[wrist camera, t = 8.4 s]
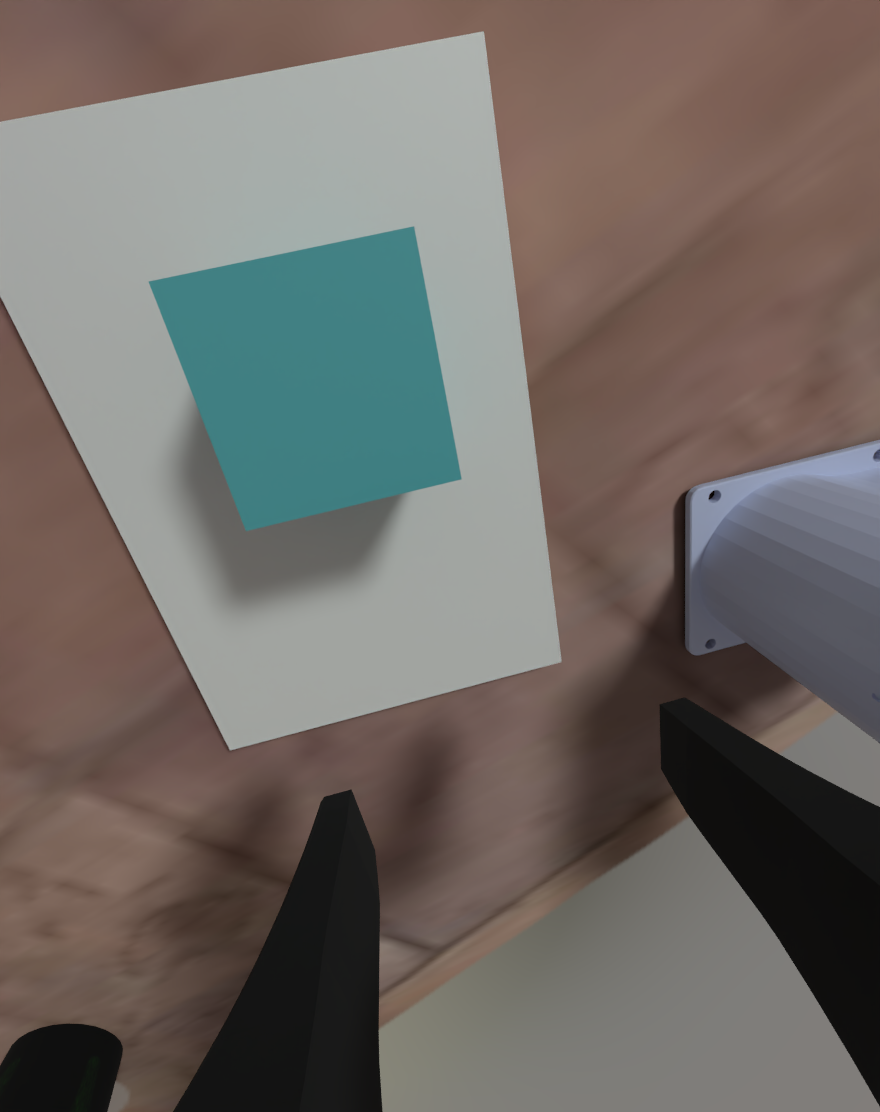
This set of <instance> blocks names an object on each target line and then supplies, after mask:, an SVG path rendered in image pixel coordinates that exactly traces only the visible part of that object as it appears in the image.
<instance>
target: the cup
mask: <svg viewBox="0 0 880 1112" xmlns="http://www.w3.org/2000/svg"><path fill="white" fill-rule="evenodd" d="M122 1050H123V1048H122V1045H121V1042H120V1041H119V1040H118V1039H117V1038H116V1037H115V1036H114V1035H113V1034H111V1033H109V1032H108V1031H106V1030H103V1029H100V1028H97V1027H93V1026H88V1025H82V1024H62V1025H53V1026H48V1027H44V1028H40V1029H37V1030H34V1031H32V1032H29V1033H27V1034H26V1035H24V1036H22V1037H21V1038H19V1039H18V1040H17V1041H16V1042H15V1043H14V1044H13V1045H12V1046H11V1048H10V1050H9V1052H8V1053H7V1055H6V1057H5V1058H4V1060H3V1062H2V1064H1V1065H0V1112H107V1111H108V1107H109V1103H110V1099H111V1095H112V1092H113V1088H114V1084H115V1080H116V1076H117V1072H118V1069H119V1065H120V1061H121V1057H122Z"/></svg>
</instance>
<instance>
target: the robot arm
mask: <svg viewBox="0 0 880 1112" xmlns="http://www.w3.org/2000/svg"><path fill="white" fill-rule="evenodd" d="M875 452H876V453H875ZM874 453H875V455H874ZM873 456H874V457H873ZM712 491H714V492H715V493H714V496H713V497H712V498H711V499H710V500H709V499H708V498H709V495H710V493H711V492H712ZM708 640H710V641H709V642H708V643H706V642H707V641H708ZM743 643H747V644H749V645H750V646H751V647H753V648H754V649H755V650H757V651H758V652H759V653H761V654H762V655H763V656H765V657H766V658H767V659H769V660H770V661H771V662H773V663H774V664H775V665H777V666H778V667H779V668H781V669H782V670H783V671H785V672H786V673H787V674H788V675H790V676H791V677H792V678H794V679H795V680H796V681H798V682H799V683H800V684H802V685H803V686H804V687H806V688H807V689H808V690H810V691H811V692H812V693H814V694H815V695H816V696H818V697H819V698H820V699H822V700H823V701H824V702H826V703H827V704H828V705H830V706H831V707H832V708H834V709H835V710H836V711H838V712H839V713H840V714H841V715H843V716H844V717H846V718H847V719H848V720H850V721H851V722H852V723H853V724H855V725H856V726H858V727H859V728H860V729H861V730H863V731H864V732H866V733H867V734H868V735H869V736H871V737H872V738H873V739H875V740H876V741H878V742H879V743H880V440H877V441H873V442H869V443H865V444H861V445H857V446H853V447H849V448H845V449H841V450H837V451H833V452H829V453H825V454H821V455H817V456H813V457H809V458H805V459H801V460H796V461H792V462H788V463H784V464H780V465H776V466H772V467H768V468H764V469H760V470H756V471H752V472H748V473H744V474H740V475H736V476H732V477H728V478H724V479H720V480H716V481H712V482H708V483H704V484H700V485H697V486H695V487H693V488H692V489H690V490H689V492H688V493H687V495H686V500H685V647H686V649H687V650H688V651H689V652H690V653H691V654H692V655H695V656H696V655H702V654H706V653H709V652H713V651H717V650H720V649H724V648H728V647H731V646H735V645H739V644H743ZM660 737H661V769H662V771H663V773H664V775H665V777H666V778H667V780H668V782H669V784H670V785H671V787H672V789H673V791H674V792H675V794H676V796H677V797H678V799H679V801H680V802H681V804H682V806H683V807H684V809H685V811H686V812H687V814H688V815H689V817H690V818H691V819H692V820H693V822H694V824H695V825H696V826H697V828H698V829H699V830H700V832H701V833H702V835H703V836H704V837H705V839H706V840H707V841H708V843H709V844H710V845H711V847H712V848H713V850H714V851H715V852H716V854H717V855H718V856H719V857H720V859H721V860H722V862H723V863H724V864H725V866H726V867H727V868H728V870H729V871H730V872H731V874H732V875H733V876H734V878H735V879H736V881H737V882H738V883H739V884H740V886H741V887H742V889H743V890H744V891H745V893H746V894H747V895H748V897H749V898H750V899H751V901H752V902H753V903H754V905H755V906H756V907H757V909H758V910H759V911H760V913H761V914H762V915H763V917H764V919H765V920H766V921H767V923H768V924H769V926H770V927H771V929H772V930H773V932H774V933H775V934H776V936H777V937H778V939H779V940H780V942H781V944H782V945H783V947H784V948H785V950H786V952H787V953H788V955H789V956H790V958H791V960H792V961H793V963H794V964H795V966H796V967H797V969H798V971H799V972H800V974H801V975H802V977H803V978H804V980H805V982H806V983H807V985H808V987H809V988H810V989H811V991H812V993H813V995H814V996H815V998H816V1000H817V1001H818V1003H819V1005H820V1006H821V1008H822V1009H823V1011H824V1013H825V1014H826V1016H827V1018H828V1019H829V1021H830V1023H831V1024H832V1026H833V1028H834V1029H835V1031H836V1033H837V1034H838V1036H839V1038H840V1039H841V1041H842V1043H843V1044H844V1046H845V1048H846V1049H847V1051H848V1053H849V1054H850V1056H851V1058H852V1059H853V1061H854V1063H855V1064H856V1066H857V1068H858V1070H859V1071H860V1073H861V1075H862V1076H863V1078H864V1080H865V1082H866V1083H867V1085H868V1087H869V1089H870V1090H871V1092H872V1094H873V1096H874V1097H875V1099H876V1101H877V1103H878V1104H879V1106H880V807H879V806H876V805H874V804H872V803H870V802H868V801H866V800H864V799H862V798H859V797H858V796H856V795H854V794H852V793H850V792H848V791H846V790H844V789H842V788H840V787H838V786H836V785H834V784H832V783H831V782H828V781H827V780H825V779H823V778H821V777H819V776H817V775H815V774H813V773H812V772H810V771H808V770H806V769H804V768H803V767H801V766H799V765H797V764H795V763H793V762H792V761H790V760H788V759H786V758H785V757H783V756H781V755H779V754H778V753H776V752H774V751H773V750H771V749H769V748H767V747H766V746H764V745H762V744H760V743H759V742H757V741H755V740H754V739H752V738H750V737H749V736H747V735H745V734H744V733H742V732H740V731H739V730H737V729H735V728H734V727H732V726H731V725H729V724H727V723H726V722H724V721H722V720H721V719H719V718H717V717H716V716H714V715H713V714H711V713H709V712H708V711H706V710H704V709H703V708H701V707H700V706H698V705H696V704H695V703H693V702H691V701H690V700H688V699H686V698H681V699H678V700H674V701H671V702H667V703H663V704H660ZM379 932H380V900H379V888H378V876H377V866H376V855H375V849H374V846H373V844H372V841H371V839H370V836H369V834H368V831H367V828H366V826H365V823H364V821H363V818H362V815H361V813H360V810H359V808H358V805H357V803H356V800H355V797H354V795H353V792H352V790H348V791H344V792H341V793H337V794H333V795H330V796H326V797H324V798H323V800H322V801H321V803H320V806H319V809H318V812H317V815H316V818H315V821H314V824H313V827H312V830H311V833H310V836H309V838H308V841H307V844H306V846H305V849H304V852H303V854H302V857H301V860H300V862H299V865H298V867H297V870H296V872H295V875H294V877H293V880H292V882H291V885H290V887H289V889H288V892H287V894H286V897H285V899H284V902H283V904H282V906H281V909H280V911H279V913H278V916H277V918H276V920H275V922H274V924H273V926H272V929H271V931H270V933H269V935H268V937H267V940H266V942H265V944H264V946H263V948H262V950H261V953H260V955H259V957H258V959H257V961H256V963H255V965H254V967H253V969H252V971H251V973H250V975H249V977H248V979H247V981H246V983H245V985H244V987H243V989H242V991H241V993H240V995H239V997H238V999H237V1001H236V1003H235V1004H234V1006H233V1008H232V1010H231V1012H230V1014H229V1016H228V1018H227V1020H226V1021H225V1023H224V1025H223V1027H222V1029H221V1031H220V1032H219V1034H218V1036H217V1038H216V1039H215V1041H214V1043H213V1045H212V1046H211V1048H210V1050H209V1052H208V1053H207V1055H206V1057H205V1059H204V1060H203V1062H202V1064H201V1066H200V1067H199V1069H198V1071H197V1073H196V1074H195V1076H194V1078H193V1079H192V1081H191V1083H190V1085H189V1086H188V1088H187V1090H186V1091H185V1093H184V1095H183V1096H182V1098H181V1100H180V1101H179V1103H178V1104H177V1106H176V1108H175V1109H174V1111H173V1112H382V1099H381V1083H380V1068H379V1036H378V1035H379V1032H378V1030H379Z"/></svg>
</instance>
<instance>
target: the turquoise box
mask: <svg viewBox="0 0 880 1112" xmlns="http://www.w3.org/2000/svg"><path fill="white" fill-rule="evenodd" d="M149 284H150V287H151V289H152V292H153V295H154V297H155V300H156V302H157V305H158V307H159V310H160V312H161V315H162V318H163V320H164V323H165V325H166V328H167V330H168V333H169V335H170V338H171V341H172V343H173V346H174V348H175V351H176V353H177V356H178V358H179V361H180V364H181V366H182V369H183V371H184V374H185V376H186V379H187V382H188V384H189V387H190V389H191V392H192V394H193V397H194V399H195V402H196V405H197V407H198V410H199V412H200V415H201V417H202V420H203V422H204V425H205V428H206V430H207V433H208V435H209V438H210V440H211V443H212V445H213V448H214V451H215V453H216V456H217V458H218V461H219V463H220V466H221V468H222V471H223V474H224V476H225V479H226V481H227V484H228V486H229V489H230V492H231V494H232V497H233V499H234V502H235V504H236V507H237V509H238V512H239V515H240V517H241V520H242V522H243V525H244V527H245V530H246V531H249V530H253V529H257V528H261V527H266V526H270V525H274V524H278V523H282V522H286V521H291V520H295V519H299V518H303V517H307V516H311V515H315V514H320V513H324V512H328V511H332V510H336V509H340V508H345V507H349V506H353V505H357V504H361V503H365V502H370V501H374V500H378V499H382V498H386V497H390V496H394V495H399V494H403V493H407V492H411V491H415V490H419V489H424V488H428V487H432V486H436V485H440V484H444V483H449V482H453V481H457V480H461V479H462V478H461V472H460V467H459V462H458V456H457V451H456V446H455V440H454V435H453V430H452V425H451V419H450V414H449V409H448V403H447V398H446V393H445V387H444V382H443V377H442V371H441V366H440V361H439V356H438V350H437V345H436V340H435V334H434V329H433V324H432V318H431V313H430V308H429V302H428V297H427V292H426V287H425V281H424V276H423V271H422V265H421V260H420V255H419V249H418V244H417V239H416V234H415V228H414V226H413V227H408V228H403V229H398V230H394V231H389V232H384V233H379V234H374V235H370V236H365V237H360V238H355V239H350V240H346V241H341V242H336V243H331V244H326V245H321V246H317V247H312V248H307V249H302V250H297V251H293V252H288V253H283V254H278V255H273V256H269V257H264V258H259V259H254V260H249V261H245V262H240V263H235V264H230V265H225V266H221V267H216V268H211V269H206V270H201V271H197V272H192V273H187V274H182V275H177V276H173V277H168V278H163V279H158V280H153V281H149Z"/></svg>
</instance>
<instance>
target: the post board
mask: <svg viewBox="0 0 880 1112" xmlns="http://www.w3.org/2000/svg"><path fill="white" fill-rule="evenodd" d="M413 226H414V228H415V234H416V239H417V244H418V249H419V255H420V260H421V265H422V271H423V276H424V281H425V287H426V292H427V297H428V302H429V308H430V313H431V318H432V324H433V329H434V334H435V340H436V345H437V350H438V356H439V361H440V366H441V371H442V377H443V382H444V387H445V393H446V398H447V403H448V409H449V414H450V419H451V425H452V430H453V435H454V440H455V446H456V451H457V456H458V462H459V467H460V472H461V478H462V479H461V480H457V481H453V482H449V483H444V484H440V485H436V486H432V487H428V488H424V489H419V490H415V491H411V492H407V493H403V494H399V495H394V496H390V497H386V498H382V499H378V500H374V501H370V502H365V503H361V504H357V505H353V506H349V507H345V508H340V509H336V510H332V511H328V512H324V513H320V514H315V515H311V516H307V517H303V518H299V519H295V520H291V521H286V522H282V523H278V524H274V525H270V526H266V527H261V528H257V529H253V530H249V531H246V530H245V527H244V525H243V522H242V520H241V517H240V515H239V512H238V509H237V507H236V504H235V502H234V499H233V497H232V494H231V492H230V489H229V486H228V484H227V481H226V479H225V476H224V474H223V471H222V468H221V466H220V463H219V461H218V458H217V456H216V453H215V451H214V448H213V445H212V443H211V440H210V438H209V435H208V433H207V430H206V428H205V425H204V422H203V420H202V417H201V415H200V412H199V410H198V407H197V405H196V402H195V399H194V397H193V394H192V392H191V389H190V387H189V384H188V382H187V379H186V376H185V374H184V371H183V369H182V366H181V364H180V361H179V358H178V356H177V353H176V351H175V348H174V346H173V343H172V341H171V338H170V335H169V333H168V330H167V328H166V325H165V323H164V320H163V318H162V315H161V312H160V310H159V307H158V305H157V302H156V300H155V297H154V295H153V292H152V289H151V287H150V284H149V281H153V280H158V279H163V278H168V277H173V276H177V275H182V274H187V273H192V272H197V271H201V270H206V269H211V268H216V267H221V266H225V265H230V264H235V263H240V262H245V261H249V260H254V259H259V258H264V257H269V256H273V255H278V254H283V253H288V252H293V251H297V250H302V249H307V248H312V247H317V246H321V245H326V244H331V243H336V242H341V241H346V240H350V239H355V238H360V237H365V236H370V235H374V234H379V233H384V232H389V231H394V230H398V229H403V228H408V227H413ZM0 297H1V299H2V301H3V303H4V305H5V307H6V309H7V311H8V313H9V315H10V317H11V319H12V321H13V323H14V325H15V327H16V328H17V330H18V332H19V334H20V336H21V338H22V340H23V342H24V344H25V346H26V348H27V350H28V352H29V354H30V356H31V358H32V360H33V362H34V364H35V366H36V368H37V370H38V372H39V374H40V376H41V378H42V380H43V382H44V384H45V386H46V388H47V390H48V392H49V394H50V396H51V398H52V400H53V402H54V404H55V406H56V408H57V410H58V411H59V413H60V415H61V417H62V419H63V421H64V423H65V425H66V427H67V429H68V431H69V433H70V435H71V437H72V439H73V441H74V443H75V445H76V447H77V449H78V451H79V453H80V455H81V457H82V459H83V461H84V463H85V465H86V467H87V469H88V471H89V473H90V475H91V477H92V479H93V481H94V483H95V485H96V487H97V489H98V491H99V492H100V494H101V496H102V498H103V500H104V502H105V504H106V506H107V508H108V510H109V512H110V514H111V516H112V518H113V520H114V522H115V524H116V526H117V528H118V530H119V532H120V534H121V536H122V538H123V540H124V542H125V544H126V546H127V548H128V550H129V552H130V554H131V556H132V558H133V560H134V562H135V564H136V566H137V568H138V570H139V572H140V574H141V575H142V577H143V579H144V581H145V583H146V585H147V587H148V589H149V591H150V593H151V595H152V597H153V599H154V601H155V603H156V605H157V607H158V609H159V611H160V613H161V615H162V617H163V619H164V621H165V623H166V625H167V627H168V629H169V631H170V633H171V635H172V637H173V639H174V641H175V643H176V645H177V647H178V649H179V651H180V653H181V655H182V657H183V658H184V660H185V662H186V664H187V666H188V668H189V670H190V672H191V674H192V676H193V678H194V680H195V682H196V684H197V686H198V688H199V690H200V692H201V694H202V696H203V698H204V700H205V702H206V704H207V706H208V708H209V710H210V712H211V714H212V716H213V718H214V720H215V722H216V724H217V726H218V728H219V730H220V732H221V734H222V736H223V738H224V740H225V741H226V743H227V745H228V747H229V749H230V750H234V749H237V748H241V747H245V746H249V745H252V744H256V743H260V742H264V741H267V740H271V739H275V738H279V737H282V736H286V735H290V734H294V733H297V732H301V731H305V730H309V729H312V728H316V727H320V726H324V725H327V724H331V723H335V722H339V721H342V720H346V719H350V718H353V717H357V716H361V715H365V714H368V713H372V712H376V711H380V710H383V709H387V708H391V707H395V706H398V705H402V704H406V703H410V702H413V701H417V700H421V699H425V698H428V697H432V696H436V695H440V694H443V693H447V692H451V691H455V690H458V689H462V688H466V687H470V686H473V685H477V684H481V683H484V682H488V681H492V680H496V679H499V678H503V677H507V676H511V675H514V674H518V673H522V672H526V671H529V670H533V669H537V668H541V667H544V666H548V665H552V664H556V663H559V662H561V653H560V645H559V637H558V629H557V621H556V613H555V605H554V597H553V589H552V580H551V572H550V564H549V556H548V548H547V540H546V532H545V524H544V516H543V508H542V499H541V491H540V483H539V475H538V467H537V459H536V451H535V443H534V435H533V426H532V418H531V410H530V402H529V394H528V386H527V378H526V370H525V362H524V354H523V345H522V337H521V329H520V321H519V313H518V305H517V297H516V289H515V281H514V272H513V264H512V256H511V248H510V240H509V232H508V224H507V216H506V208H505V200H504V191H503V183H502V175H501V167H500V159H499V151H498V143H497V135H496V127H495V118H494V110H493V102H492V94H491V86H490V78H489V70H488V62H487V54H486V46H485V37H484V31H483V32H478V33H472V34H467V35H462V36H456V37H451V38H446V39H440V40H435V41H430V42H424V43H419V44H414V45H408V46H403V47H398V48H392V49H387V50H382V51H376V52H371V53H366V54H360V55H355V56H350V57H344V58H339V59H334V60H328V61H323V62H318V63H312V64H307V65H302V66H296V67H291V68H286V69H280V70H275V71H270V72H264V73H259V74H254V75H248V76H243V77H238V78H232V79H227V80H222V81H216V82H211V83H206V84H200V85H195V86H189V87H184V88H179V89H173V90H168V91H163V92H157V93H152V94H147V95H141V96H136V97H131V98H125V99H120V100H115V101H109V102H104V103H99V104H93V105H88V106H83V107H77V108H72V109H67V110H61V111H56V112H51V113H45V114H40V115H35V116H29V117H24V118H19V119H13V120H8V121H3V122H0Z"/></svg>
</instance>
